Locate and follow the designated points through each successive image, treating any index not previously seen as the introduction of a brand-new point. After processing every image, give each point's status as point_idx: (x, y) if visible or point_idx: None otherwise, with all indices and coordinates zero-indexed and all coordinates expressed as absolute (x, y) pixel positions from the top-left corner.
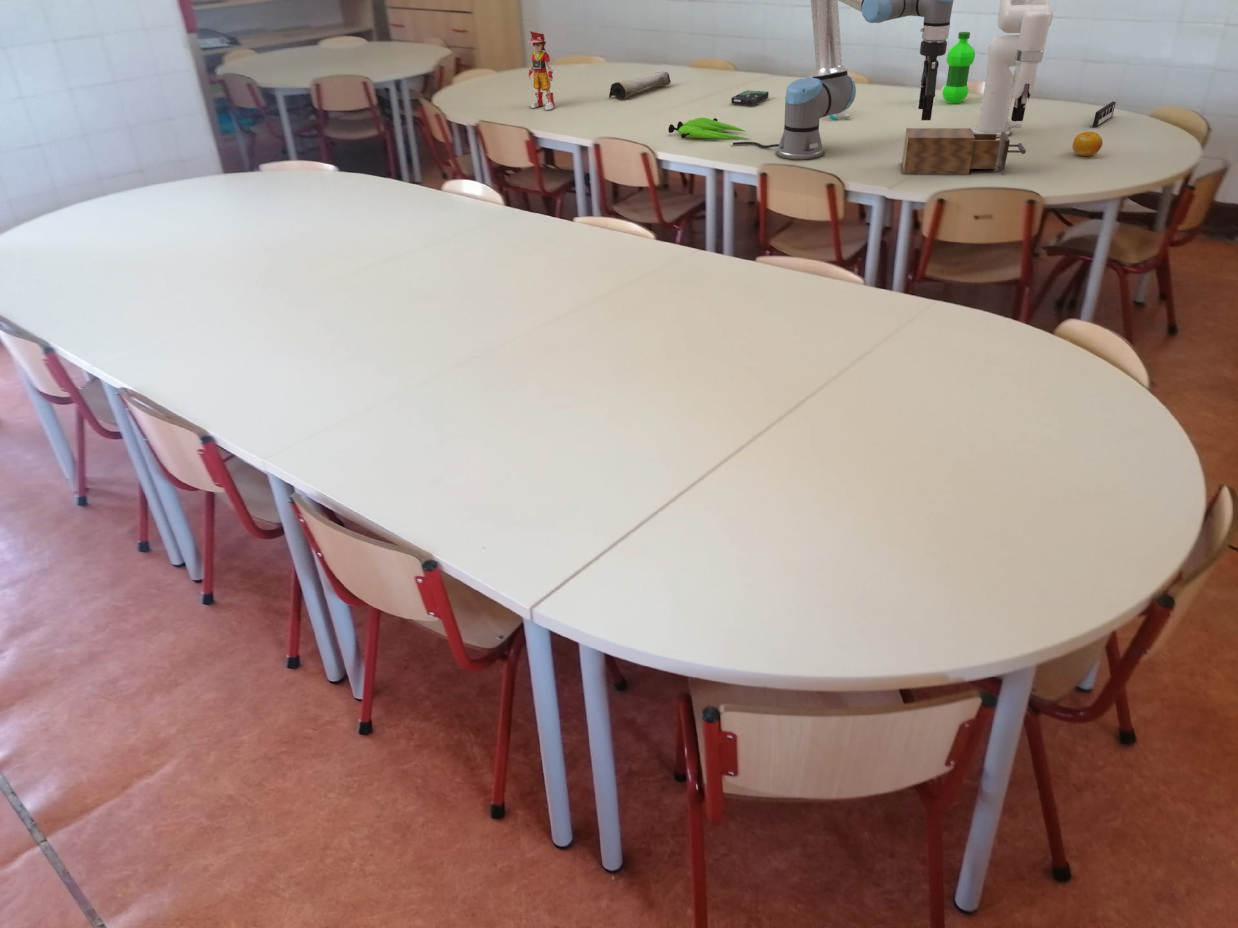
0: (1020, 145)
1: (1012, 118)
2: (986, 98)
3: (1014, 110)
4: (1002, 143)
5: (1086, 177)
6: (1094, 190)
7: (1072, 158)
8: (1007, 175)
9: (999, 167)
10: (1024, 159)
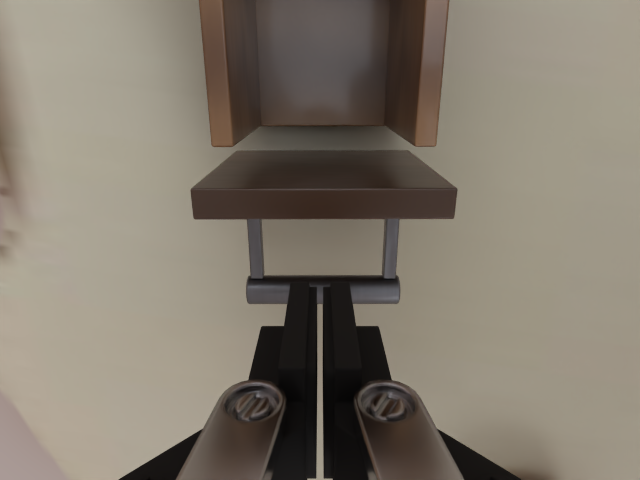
0: None
1: (289, 294)
2: None
3: (285, 354)
4: (310, 176)
5: None
6: (72, 463)
7: None
8: None
9: (269, 151)
10: (488, 296)
